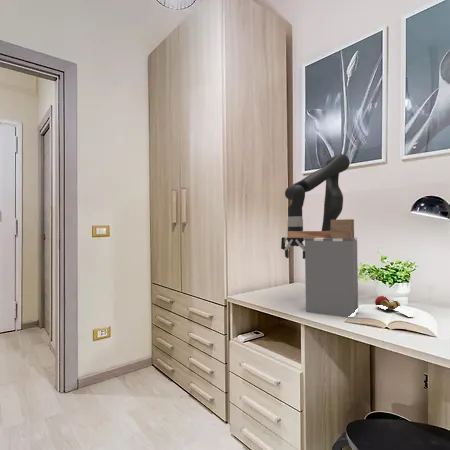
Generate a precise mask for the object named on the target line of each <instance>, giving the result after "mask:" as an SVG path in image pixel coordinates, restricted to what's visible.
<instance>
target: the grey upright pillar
mask: <svg viewBox="0 0 450 450" xmlns="http://www.w3.org/2000/svg"><path fill="white" fill-rule="evenodd" d="M304 246H305V259H304V261H305V262H304V265H305V267H304V270H305V271H304V273H305V312H306V313H313V314H318V315H320V314H321V315H327V316H335V317H341V318H342V317H343V318H344V317H345V318H349V317H348V316H350V315H351V314H352V313H354V312H355V310H356V309H357V308H358V309H359V286H358V285H359V282H358V281H359V280H358V278H359V277H358V276H359V275H358V274H359V273H358V271H359V269H358V266H359V265H358V237H354V238H351V239H331V238H305V240H304Z"/></svg>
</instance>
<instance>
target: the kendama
mask: <svg viewBox="0 0 450 450" xmlns="http://www.w3.org/2000/svg"><path fill="white" fill-rule="evenodd" d="M386 297H387V296H385V297H384V295H380V296H377V297H376V298H375V301H374V305H375V306H376V305H383V306H386V307H388V308H390V309H389V310H391V309H395V308H397V307H398V306H400V307H401V303H400V302H399V301H398V300H397V301H393V300H392V301H393V302H391V301H390V299H389V298H388V297H387V298H388V299H389V300H388V299H387V298H386ZM389 301H390V302H391V303H390V302H389Z"/></svg>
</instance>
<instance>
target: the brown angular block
mask: <svg viewBox="0 0 450 450" xmlns="http://www.w3.org/2000/svg"><path fill="white" fill-rule="evenodd" d="M287 237H288V238H331V239H351V238H355V219H352V218H351V219H349V218H346V219H336V220H331V231H322V230H303V231H288V230H287Z"/></svg>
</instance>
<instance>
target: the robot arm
mask: <svg viewBox="0 0 450 450" xmlns="http://www.w3.org/2000/svg"><path fill="white" fill-rule="evenodd" d="M350 163H351V162H350V159H349V157H348V155H346V154H341V153H339V154H336V155H334V156H332V157H330V158H329V159H328V160H327V161H326V163H325V166H323V167H321V168H319V169H318V170H315V171H314V172H312V173H310V174H308V175H307V176H306V177H304V178H302V179H301V180H299V181H297V182H295V183H293V184H291V185H289V186H288V187H286V189H285V191H284V196H285V198H286V199H287V200H289V201H291V204H290V205H288V207H287V232H288V231H304V220H303V206H304V204H305V198H306V193H308V192H310V191H312V190H314V189H315V188H317V187H318V186H319V185H321V184H323V183H324V182H325V190H324V191H325V193H324V201H323V202H324V204H323V206H324V207H323V218H322V226H321V231H331V220H338V218H339V216H340V215H341V213H342V211H343V207H344V195H343V192H342V190H341V188H340V186H339V176H340V173H343V172H345V171H346V170H348V168H349V167H350V166H351V165H350ZM286 242H287V244H286ZM303 242H305V238H288V236H287V237H286V236H285V237H284V236H283V237H281V242H280V243H281V245H280V249H281V250H283V251H284V257H285V259H289V258H290V251H289V249H290V248H291V247H300V249H301V250H302V260H303V259H304V260H305V243H303Z"/></svg>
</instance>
